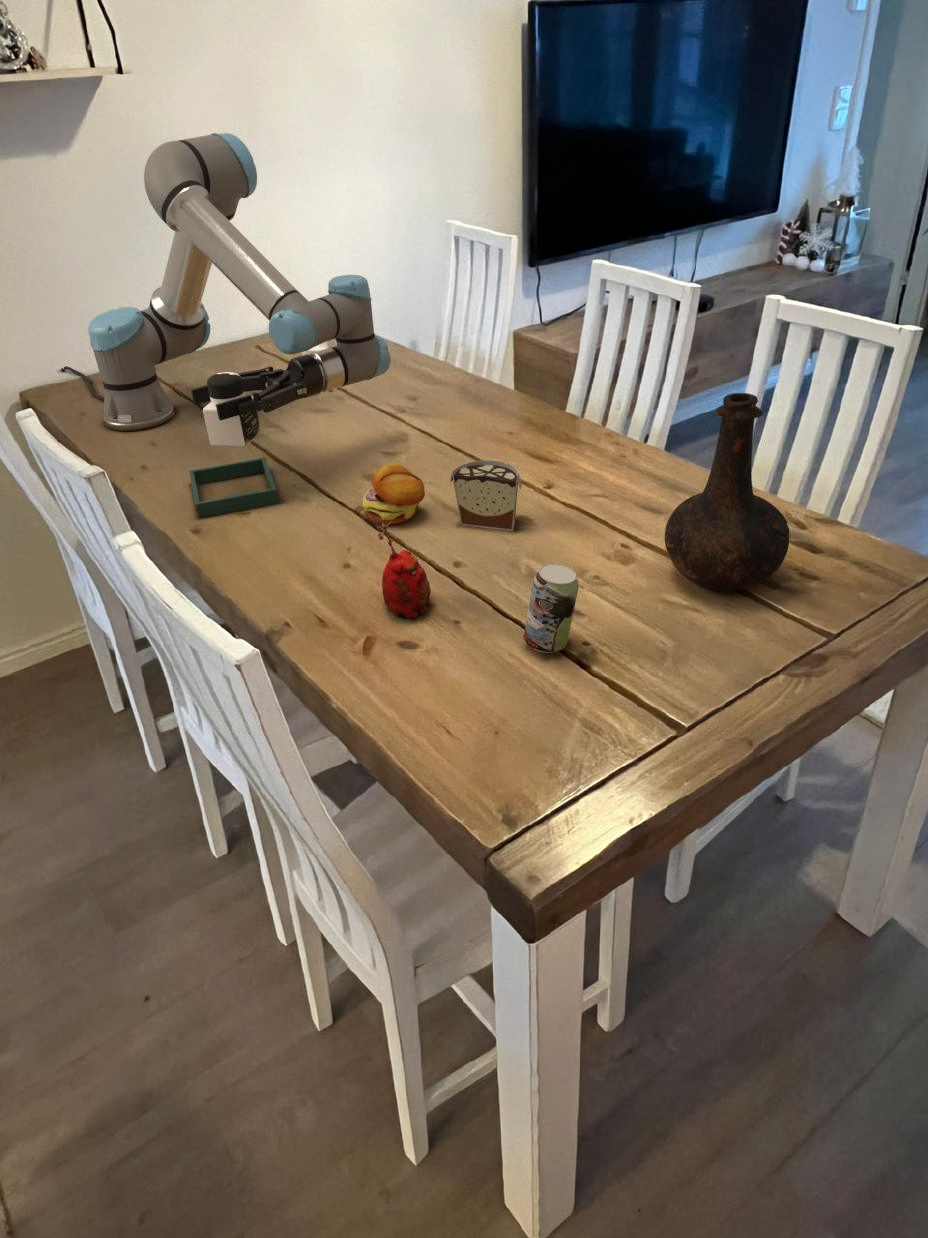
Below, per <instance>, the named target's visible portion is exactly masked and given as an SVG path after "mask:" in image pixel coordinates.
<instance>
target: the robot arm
mask: <svg viewBox="0 0 928 1238" xmlns="http://www.w3.org/2000/svg"><path fill="white" fill-rule="evenodd" d="M143 183H144V189H145V193H146V196H147V198H148V201H149V203H150V205H151V206H152V209H153V210H154V212H155V213H156V214H157V216H158V217H159V218H160V220H162V222H163V223H164V224H165V225H166V226H167V227H168V228H170V229H171V230H172V231H173V232H174V234H173V238H172V243H171V247H170V250H169V254H168V259H167V263H166V267H165V269H164V276H163V278H162V283H161V286H159V287H158V288H155V289H154V290H153V292H152V293H151V297H150V301H149V305H148V307H147V308H144V309H142V310H140V309H139V308H137V307H133V306H123V307H119V308H116V309H115V308H113V309H110V310H107V311H104V312H102V313H99V314H98V315H96V316H95V317H94V318H93V319H92V320H90V322H89V324H88V328H87V331H88V335H89V342H90V343H89V344H90V347H91V349H92V351H93V355H94V358H95V362H96V365H97V368H98V371H99V375H100V379H101V383H102V385H103V390H104V396H102V395H100V394H98V393H97V391H95V389H94V388H93V387H92V385H91V380H90V379H89V378H88V377H87V376H86V375H85V374H84V373H82V372H80V371H78V370H76V369H74V368H73V367H71V366H66V365H65V367H64V366H63V367H64V369H63V368H62V367H61V369H60V372H61V373H63V372H65V370H67V371H69V372H71V373H73V374H75V375H77V376H79V377H81V378H82V379H84V381H85V382H86V385H87V388H88V390H89V392H90V393H91V394H92V395H93V396H94V397H95V398H96V399H98V400H100V401H103V419H104V424H105V426H106V427H107V428H108V429H110V430H114V431H119V432H120V431H121V432H133V431H141V430H145V429H151V428H154V427H158V426H160V425H162V424H164V423H166V422H168V421H169V420H171V419H172V418H173V417H174V415H175V409H174V404H173V403H172V401H171V400H170V397H169V396H168V394H167V393H166V391H165V390H164V388H163V386H162V385H161V383H160V381H159V379H158V375H157V370H156V367H155V366H157V365H160V364H162V363H165V362H168V361H170V360H174V359H176V358H179V357H182V356H186V355H189V354H192V353H194V352H196V351H198V350H199V349H201V348H202V347H204V346H205V345H206V344H207V342H208V341H209V338H210V335H211V323H210V322H209V320H210V316H209V314H208V312H207V310H206V308H205V306H204V303H203V301H202V299H203V296H204V294H205V293H204V292H205V289H206V286H207V283H208V279H209V275H210V272H211V269H212V266H215V267H216V269H218V270H219V271H220V272H221V274H223V276H225V277H226V279H228V281H230V282H231V284H232V285H233V286H234V287H236V289H237V290H238V291H239V292H240V293H241V294H242V295H243V296H244V297H245V298H246V299H247V300H248V301H249V302H250V303H251V304H252V305H253V306H254V307H255V308H256V309H257V310H258V311H259V312H260V313H261V314H262V315H263V316H264V317H265V318H266V319H267V320H268V333H269V337H270V339H272V341H273V345H274V347H275V348H276V349H277V350H278V351H280V352H281V353H283V354H284V355H285V354H286V355H296V354H299V353H302V352H303V351H308V350H310V349H312V348H313V347H315V346H317V345H320V344H322V343H324V342H327V341H329V340H332V339H335V342H336V343H337V346H335V347H331V348H327V349H323V350H319V351H315V352H312V353H310V354H309V355H308V354H306V355H302V354H301V355H298V356H296V357H292V358H290V359H289V361H288V364H287V366H286V369H282V368H280V369H279V368H278V369H274V366H271V365H269V366H266V367H264V368H260V369H259V368H258V369H254V370H249V371H243V372H237V373H236V372H235V373H236V374H238V375H240V376H241V379H242V384H243V389H244V393H247V392H252V395H251V394H248V395H245V396H244V397H240V398H237V399H233V400H230V401H226V402H223V403H219V404H216V409H217V413H218V418H219V420H224V419H228V418H231V417H235V416H238V415H241V414H245V413H248V412H251V411H254V410H255V409H256V411H257V412H261V411H263V413H265V414H268V413H270V412H273V411H275V410H278V409H280V408H281V407H284V406H286V405H288V404H291V403H293V402H295V401H298V400H301V399H307V398H311V397H313V396H317V395H320V394H321V393H327V392H329V393H333V392H334V390H335V389H340V388H343V387H345V386H350V385H353V384H357V383H360V382H364V381H371V380H372V379H374V378H377V377H379V376H382V375H384V374H386V373H387V372H388V371H389V369H390V366H391V363H392V362H391V361H392V359H391V352H390V351H389V349H388V348H389V346H388V344H387V342H386V341H385V340H384V339H383V338H382V337H381V336H380V335H379V336H378V335H376V334H375V327H374V317H373V308H372V300H373V299H372V296H371V291H370V290H371V289H370V286H369V281H368V279H367V278H366V277H365V276H363V275H360V274H344V275H337V276H335V277H332V278H331V279H330V280H328V285H327V286H328V287H327V289H328V290H327V293H328V294H325V295H324V296H320V297H318V298H315V299H312V300H308V299H307V298H306V297H305V295H303V294H302V293H301V292H300V291H299V290H298V289H297V288H296V287H295V286H294V285H293V284H292V283H291V282H290V281H289V280H288V279H287V278H286V276H284V275H283V274H282V273H281V272H280V271H279V269H277V268H276V267H275V266H274V265H273V264H272V263H271V262H270V260H268V259H267V258H266V257H265V256H264V255H263V253H261V252H260V251H259V249H258V248H257V247H256V246H255V245H254V244H253V243H252V242H251V241H250V240H249V239H248V238H247V237H246V236H245V235H244V234H243V233H242V232H241V231H240V230H239V229H238V228H237V227H236V226H235V225H234V224H233V223H232V222H231V221H232V220H233V219H234V217H235V215H236V212H237V209H238V205H239V203H240V200H241V199H247V198H249V197H250V196H252V195H253V194H254V192H255V191H256V188H257V186H258V172H257V166H256V163H255V162H254V158H253V155H252V153H251V152H250V149H249V148H248V146H247V145H246V144H245V143H244V141H243V140H241V138H239V137H238V136H236V135H234V134H233V133H228V132H221V133H217V132H212V133H211V134H207V135H201V136H195V137H189V138H184V139H179V140H169V141H167V142H163V143H162V144H160V145H158V146H156V148H155V149H153V150H152V152H151V153H150V154H149V156H148V157H147V160H146V163H145V166H144V172H143ZM256 391H257V392H256ZM258 391H260V392H258ZM190 392H191V397H192V402H193V405H194V406H198V405H201V404H205V403H208V402H209V403H210V402H212V401H211V400H210V395H209V390H208V386H207V384H206V385H203V386H199V387H196V388H192V389H190ZM252 396H253V398H254V399H252Z"/></svg>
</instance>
